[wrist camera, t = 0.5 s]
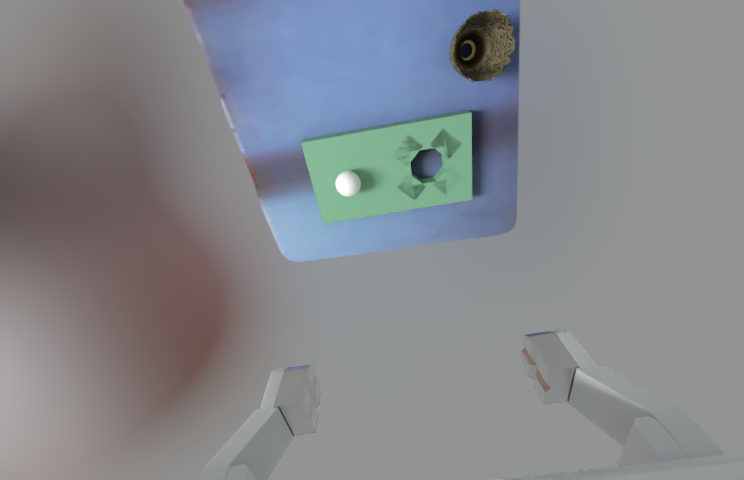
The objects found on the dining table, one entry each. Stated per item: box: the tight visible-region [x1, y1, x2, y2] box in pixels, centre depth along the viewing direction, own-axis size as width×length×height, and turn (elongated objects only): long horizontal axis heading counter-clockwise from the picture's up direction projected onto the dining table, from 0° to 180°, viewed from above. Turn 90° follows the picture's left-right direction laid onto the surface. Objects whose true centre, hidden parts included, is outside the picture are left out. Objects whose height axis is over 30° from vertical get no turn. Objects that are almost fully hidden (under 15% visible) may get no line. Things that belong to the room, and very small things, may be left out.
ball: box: [335, 171, 361, 197], centre depth 48 cm, size 4×4×4 cm
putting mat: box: [301, 110, 472, 224], centre depth 51 cm, size 14×26×2 cm, turn 99°
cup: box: [450, 9, 516, 82], centre depth 40 cm, size 8×7×8 cm
